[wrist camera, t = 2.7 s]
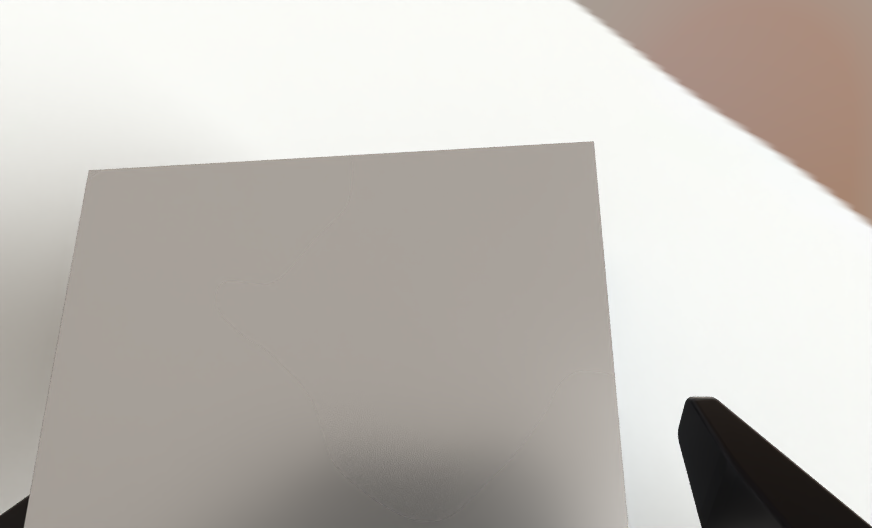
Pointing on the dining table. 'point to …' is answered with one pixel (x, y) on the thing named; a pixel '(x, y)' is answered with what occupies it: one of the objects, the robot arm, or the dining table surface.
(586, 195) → the post
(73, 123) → the dining table surface
